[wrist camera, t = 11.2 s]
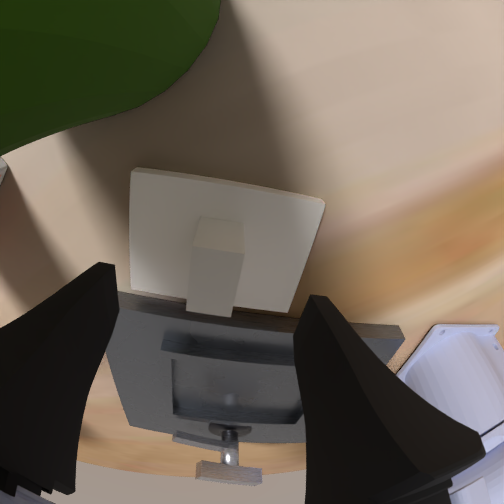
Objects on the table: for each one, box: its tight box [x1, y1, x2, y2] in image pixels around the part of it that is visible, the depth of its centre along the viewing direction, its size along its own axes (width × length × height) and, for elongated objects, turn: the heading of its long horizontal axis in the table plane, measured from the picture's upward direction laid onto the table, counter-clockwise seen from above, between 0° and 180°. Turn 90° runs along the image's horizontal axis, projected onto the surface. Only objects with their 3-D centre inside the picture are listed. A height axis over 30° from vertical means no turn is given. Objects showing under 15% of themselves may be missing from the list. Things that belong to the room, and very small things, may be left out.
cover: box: [129, 167, 326, 317], centre depth 12 cm, size 8×6×4 cm
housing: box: [106, 291, 405, 443], centre depth 19 cm, size 18×16×2 cm
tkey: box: [172, 430, 262, 486], centre depth 18 cm, size 1×7×5 cm, turn 62°
